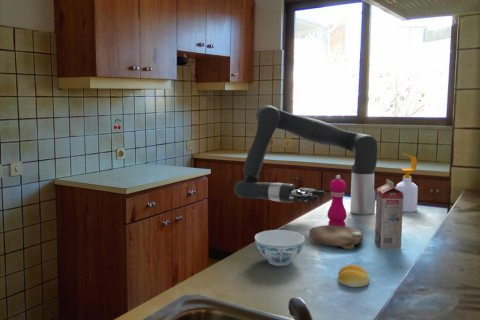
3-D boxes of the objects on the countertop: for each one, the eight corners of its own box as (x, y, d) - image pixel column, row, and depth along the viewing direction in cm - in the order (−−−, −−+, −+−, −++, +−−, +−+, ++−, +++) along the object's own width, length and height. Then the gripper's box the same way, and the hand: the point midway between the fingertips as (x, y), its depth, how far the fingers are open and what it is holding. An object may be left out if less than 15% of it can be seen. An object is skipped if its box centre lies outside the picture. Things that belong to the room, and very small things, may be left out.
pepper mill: (345, 223, 178) (346, 173, 175) (347, 229, 170) (349, 176, 167) (326, 223, 178) (327, 173, 175) (328, 229, 171) (329, 176, 168)
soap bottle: (391, 207, 202) (393, 152, 198) (410, 206, 203) (413, 152, 199) (400, 212, 193) (403, 155, 190) (420, 212, 194) (423, 155, 191)
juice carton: (380, 248, 150) (383, 183, 146) (374, 242, 156) (377, 179, 153) (400, 248, 150) (404, 182, 146) (393, 242, 156) (396, 179, 153)
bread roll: (337, 287, 121) (337, 272, 121) (338, 274, 130) (339, 260, 129) (369, 290, 119) (370, 275, 119) (368, 276, 128) (369, 263, 127)
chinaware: (247, 267, 135) (247, 242, 133) (263, 250, 148) (263, 227, 147) (297, 274, 129) (297, 248, 128) (309, 256, 143) (309, 232, 142)
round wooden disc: (340, 230, 169) (340, 220, 168) (374, 245, 153) (374, 234, 152) (299, 237, 162) (299, 227, 161) (329, 253, 145) (330, 242, 145)
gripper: (274, 186, 177) (314, 190, 169) (288, 180, 189) (326, 183, 182) (274, 205, 178) (314, 210, 170) (288, 197, 190) (326, 202, 183)
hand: (320, 196), depth 176 cm, fingers open, 8 cm apart
